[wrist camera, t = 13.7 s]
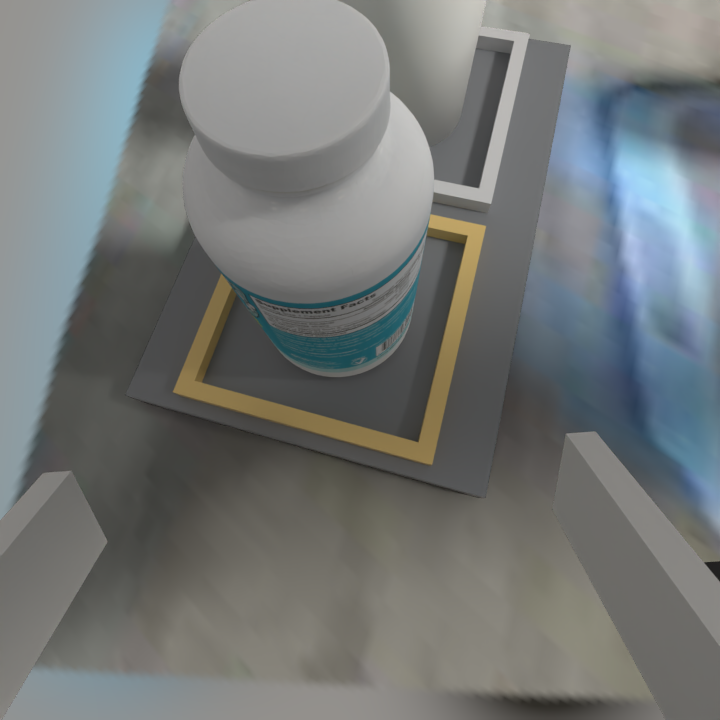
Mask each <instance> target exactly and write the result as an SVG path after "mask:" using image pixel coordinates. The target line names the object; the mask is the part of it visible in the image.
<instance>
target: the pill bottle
mask: <svg viewBox="0 0 720 720" xmlns="http://www.w3.org/2000/svg"><path fill="white" fill-rule="evenodd" d="M179 94H180V99H181V104H182V107H183V110H184V113H185V115H186V117H187V119H188V121H189V123H190V125H191V127H192V129H193V132H194V134H195V135H194V137H193V139H192V141H191V144H190V147H189V149H188V153H187V156H186V160H185V165H184V171H183V199H184V207H185V210H186V214H187V217H188V220H189V223H190V225H191V228H192V230H193V232H194V235H195V236H196V238H197V240H198V242H199V243H200V245H201V246H202V248H203V249H204V251H205V252H206V253H207V255H208V256H209V257H210V259H211V260H212V261H213V263H214V264H215V266H216V267H217V268H218V270H219V271H220V272H221V274H222V275H223V276H224V278H225V279H226V280H227V282H228V283H229V284H230V286H231V287H232V288H233V290H234V291H235V293H236V294H237V295H238V297H239V298H240V299H241V301H242V302H243V303H244V305H245V306H246V307H247V309H248V311H249V312H250V313H251V314H252V316H253V317H254V318H255V320H256V321H257V322H258V324H259V325H260V326H261V328H262V329H263V330H264V331H265V333H266V334H267V336H268V337H269V338H270V340H271V341H272V342H273V344H274V345H275V346H276V348H277V349H278V350H279V351H280V353H281V354H282V355H283V356H284V357H285V358H286V359H288V360H289V361H290V362H291V363H293V364H294V365H296V366H297V367H299V368H301V369H303V370H305V371H308V372H310V373H313V374H316V375H321V376H326V377H346V376H352V375H357V374H360V373H363V372H366V371H368V370H370V369H372V368H374V367H376V366H378V365H379V364H381V363H382V362H384V361H385V360H386V359H387V358H388V357H390V356H391V355H392V354H393V353H394V352H395V350H396V349H397V348H398V347H399V345H400V344H401V342H402V341H403V339H404V337H405V335H406V333H407V331H408V328H409V325H410V322H411V317H412V313H413V307H414V301H415V296H416V290H417V285H418V280H419V274H420V269H421V263H422V257H423V252H424V246H425V241H426V236H427V230H428V225H429V219H430V214H431V206H432V201H433V193H434V168H433V160H432V156H431V152H430V148H429V145H428V142H427V139H426V137H425V134H424V132H423V130H422V128H421V126H420V125H419V123H418V121H417V120H416V118H415V117H414V115H413V114H412V113H411V112H410V110H409V109H408V108H407V107H406V106H405V105H404V104H403V102H402V101H401V100H400V99H399V98H397V97H396V96H395V95H394V94H393V93H391V92H390V64H389V58H388V53H387V49H386V46H385V43H384V41H383V39H382V37H381V36H380V34H379V32H378V31H377V29H376V28H375V27H374V25H373V24H372V23H371V22H370V21H369V20H368V19H367V18H366V17H365V16H364V15H362V14H361V13H360V12H358V11H357V10H355V9H354V8H352V7H351V6H349V5H347V4H345V3H343V2H340V1H337V0H252V1H248V2H246V3H243V4H241V5H239V6H237V7H235V8H233V9H231V10H229V11H227V12H226V13H224V14H222V15H220V16H219V17H218V18H217V19H215V20H214V21H213V22H212V23H210V24H209V25H208V26H206V27H205V29H204V30H203V31H202V32H201V33H200V34H199V35H198V36H197V37H196V39H195V40H194V42H193V43H192V44H191V46H190V47H189V49H188V51H187V53H186V55H185V57H184V59H183V62H182V66H181V70H180V75H179Z"/></svg>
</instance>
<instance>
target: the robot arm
mask: <svg viewBox="0 0 720 720" xmlns="http://www.w3.org/2000/svg"><path fill="white" fill-rule="evenodd" d="M552 510H553V512H554V514H555V516H556V517H557V519H558V521H559V523H560V525H561V527H562V529H563V530H564V532H565V534H566V536H567V538H568V540H569V542H570V543H571V545H572V547H573V549H574V551H575V553H576V555H577V556H578V558H579V560H580V562H581V564H582V566H583V568H584V569H585V571H586V573H587V575H588V577H589V579H590V580H591V582H592V584H593V586H594V588H595V590H596V592H597V593H598V595H599V597H600V599H601V601H602V603H603V605H604V606H605V608H606V610H607V612H608V614H609V616H610V618H611V619H612V621H613V623H614V625H615V627H616V629H617V631H618V632H619V634H620V636H621V638H622V640H623V642H624V643H625V645H626V647H627V649H628V651H629V653H630V655H631V656H632V658H633V660H634V662H635V664H636V666H637V668H638V669H639V671H640V673H641V675H642V677H643V679H644V681H645V682H646V684H647V686H648V688H649V690H650V692H651V694H652V695H653V697H654V699H655V701H656V703H657V705H658V706H659V708H660V710H661V712H662V714H663V716H664V718H665V719H666V720H720V561H719V562H703V561H702V560H701V558H700V557H699V556H698V555H697V554H696V552H695V551H694V550H693V549H692V548H691V546H690V545H689V544H688V543H687V542H686V540H685V539H684V538H683V537H682V535H681V534H680V533H679V532H678V531H677V529H676V528H675V527H674V526H673V525H672V523H671V522H670V521H669V520H668V519H667V517H666V516H665V515H664V514H663V513H662V511H661V510H660V509H659V508H658V506H657V505H656V504H655V503H654V502H653V500H652V499H651V498H650V497H649V496H648V494H647V493H646V492H645V491H644V490H643V488H642V487H641V486H640V485H639V483H638V482H637V481H636V480H635V479H634V477H633V476H632V475H631V474H630V473H629V471H628V470H627V469H626V468H625V467H624V465H623V464H622V463H621V462H620V461H619V459H618V458H617V457H616V456H615V454H614V453H613V452H612V451H611V450H610V448H609V447H608V446H607V445H606V444H605V442H604V441H603V440H602V439H601V438H600V436H599V435H598V434H597V433H596V431H593V432H580V433H566V436H565V441H564V447H563V452H562V458H561V463H560V469H559V474H558V480H557V486H556V491H555V497H554V502H553V508H552ZM107 542H108V541H107V539H106V537H105V535H104V533H103V531H102V529H101V527H100V525H99V523H98V522H97V520H96V518H95V516H94V514H93V512H92V510H91V508H90V506H89V504H88V502H87V500H86V498H85V496H84V494H83V492H82V490H81V488H80V486H79V484H78V482H77V480H76V478H75V476H74V475H73V473H72V471H61V472H48V473H43V474H42V475H41V476H40V477H39V478H38V479H37V480H36V481H35V483H34V484H33V485H32V486H31V487H30V488H29V489H28V490H27V491H26V493H25V494H24V495H23V496H22V497H21V498H20V499H19V500H18V501H17V502H16V504H15V505H14V506H13V507H12V508H11V509H10V510H9V511H8V512H7V514H6V515H5V516H4V517H3V518H2V519H1V520H0V720H2V719H3V716H4V715H5V714H6V712H7V710H8V708H9V707H10V705H11V704H12V702H13V700H14V698H15V697H16V695H17V693H18V691H19V690H20V688H21V687H22V685H23V683H24V681H25V680H26V678H27V677H28V675H29V673H30V672H31V670H32V668H33V667H34V665H35V663H36V661H37V660H38V658H39V656H40V655H41V653H42V651H43V650H44V648H45V646H46V645H47V643H48V641H49V640H50V638H51V636H52V635H53V633H54V631H55V629H56V628H57V626H58V624H59V623H60V621H61V619H62V618H63V616H64V614H65V613H66V611H67V609H68V608H69V606H70V604H71V603H72V601H73V599H74V598H75V596H76V594H77V592H78V591H79V589H80V587H81V586H82V584H83V582H84V581H85V579H86V577H87V576H88V574H89V572H90V571H91V569H92V567H93V566H94V564H95V562H96V560H97V559H98V557H99V555H100V554H101V552H102V550H103V549H104V547H105V545H106V544H107Z"/></svg>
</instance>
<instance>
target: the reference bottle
mask: <svg viewBox="0 0 720 720" xmlns="http://www.w3.org/2000/svg"><path fill="white" fill-rule="evenodd" d="M337 1H340V2H343V3H345V4H347V5H349V6H351V7H352V8H354V9H355V10H357V11H358V12H360V13H361V14H362V15H364V16H365V17H366V18H367V19H368V20H369V21H370V22H371V23H372V24H373V25H374V27H375V28H376V29H377V31H378V32H379V34H380V36H381V37H382V39H383V41H384V43H385V46H386V49H387V53H388V58H389V64H390V92H391V93H393V94H394V95H395V96H396V97H397V98H399V99H400V100H401V101H402V102H403V104H404V105H405V106H406V107H407V108H408V109H409V110H410V112H411V113H412V114H413V115H414V117H415V118H416V120H417V121H418V123H419V125H420V126H421V128H422V130H423V132H424V134H425V137H426V139H427V142H428V145H429V147H431V146H433V145H436V144H437V143H439V142H441V141H442V140H443V139H445V138H446V137H447V136H448V135H449V134H450V133H451V132H452V131H453V130H454V128H455V127H456V125H457V124H458V122H459V119H460V116H461V112H462V108H463V103H464V99H465V94H466V90H467V85H468V81H469V76H470V72H471V67H472V63H473V59H474V54H475V50H476V45H477V41H478V36H479V32H480V27H481V23H482V18H483V14H484V9H485V5H486V0H337Z"/></svg>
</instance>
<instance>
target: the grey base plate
mask: <svg viewBox="0 0 720 720" xmlns="http://www.w3.org/2000/svg"><path fill="white" fill-rule="evenodd" d="M529 35H530V34H529V33H523V32H516V31H510V30H504V29H497V28H491V27H484V26H481V27H480V32H479V36H478V41H477V45H476V50H475V54H474V59H473V63H472V67H471V72H470V76H469V81H468V85H467V90H466V94H465V99H464V103H463V108H462V112H461V116H460V119H459V122H458V124H457V125H456V127H455V128H454V130H453V131H452V132H451V133H450V134H449V135H448V136H447V137H446V138H445V139H443V140H442V141H441V142H439V143H437V144H436V145H433V146H431V147H429V148H430V152H431V156H432V160H433V168H434V193H433V201H432V206H431V214H430V219H429V225H428V230H427V236H426V241H425V246H424V252H423V257H422V263H421V269H420V274H419V280H418V285H417V290H416V296H415V301H414V307H413V313H412V317H411V322H410V325H409V328H408V331H407V333H406V335H405V337H404V339H403V341H402V342H401V344H400V345H399V347H398V348H397V349H396V350H395V352H394V353H393V354H392V355H391V356H390V357H388V358H387V359H386V360H385V361H384V362H382V363H381V364H379V365H378V366H376V367H374V368H372V369H370V370H368V371H366V372H363V373H360V374H357V375H352V376H346V377H326V376H321V375H316V374H313V373H310V372H308V371H305V370H303V369H301V368H299V367H297V366H296V365H294V364H293V363H291V362H290V361H289V360H288V359H286V358H285V357H284V356H283V355H282V354H281V353H280V351H279V350H278V349H277V348H276V346H275V345H274V344H273V342H272V341H271V340H270V338H269V337H268V336H267V334H266V333H265V331H264V330H263V329H262V328H261V326H260V325H259V324H258V322H257V321H256V320H255V318H254V317H253V316H252V314H251V313H250V312H249V311H248V309H247V307H246V306H245V305H244V303H243V302H242V301H241V299H240V298H239V297H238V295H237V294H236V293H235V291H234V290H233V288H232V287H231V286H230V284H229V283H228V282H227V280H226V279H225V278H224V276H223V275H222V274H221V272H220V271H219V270H218V268H217V267H216V266H215V264H214V263H213V261H212V260H211V259H210V257H209V256H208V255H207V253H206V252H205V251H204V249H203V248H202V246H201V245H200V243H199V242H198V240H197V238H196V236H195V238H194V240H193V243H192V245H191V247H190V249H189V252H188V254H187V256H186V259H185V261H184V263H183V265H182V268H181V270H180V272H179V274H178V277H177V279H176V281H175V283H174V286H173V288H172V290H171V292H170V295H169V297H168V299H167V302H166V304H165V306H164V308H163V311H162V313H161V315H160V317H159V320H158V322H157V324H156V326H155V329H154V331H153V333H152V335H151V338H150V340H149V342H148V345H147V347H146V349H145V351H144V354H143V356H142V358H141V360H140V363H139V365H138V367H137V369H136V372H135V374H134V376H133V378H132V381H131V383H130V385H129V388H128V390H127V392H126V394H125V395H126V396H128V397H131V398H134V399H136V400H139V401H142V402H145V403H149V404H152V405H156V406H159V407H163V408H166V409H170V410H173V411H177V412H180V413H184V414H187V415H191V416H194V417H198V418H201V419H205V420H208V421H212V422H215V423H219V424H222V425H226V426H229V427H233V428H236V429H240V430H243V431H247V432H250V433H254V434H257V435H261V436H264V437H268V438H271V439H275V440H278V441H282V442H285V443H289V444H292V445H296V446H299V447H303V448H306V449H310V450H313V451H317V452H320V453H324V454H327V455H331V456H334V457H338V458H341V459H345V460H348V461H352V462H355V463H359V464H362V465H366V466H369V467H373V468H376V469H380V470H383V471H387V472H390V473H394V474H397V475H401V476H405V477H408V478H412V479H415V480H419V481H422V482H426V483H429V484H433V485H436V486H440V487H443V488H447V489H450V490H454V491H457V492H461V493H464V494H468V495H471V496H475V497H478V498H486V493H487V488H488V482H489V477H490V472H491V467H492V461H493V456H494V451H495V445H496V440H497V435H498V429H499V424H500V419H501V413H502V408H503V403H504V397H505V392H506V387H507V381H508V376H509V371H510V366H511V360H512V355H513V350H514V344H515V339H516V334H517V328H518V323H519V318H520V312H521V307H522V302H523V296H524V291H525V286H526V281H527V275H528V270H529V265H530V259H531V254H532V249H533V243H534V238H535V233H536V227H537V222H538V217H539V211H540V206H541V201H542V195H543V190H544V185H545V180H546V174H547V169H548V164H549V158H550V153H551V148H552V142H553V137H554V132H555V126H556V121H557V116H558V110H559V105H560V100H561V95H562V89H563V84H564V79H565V73H566V68H567V63H568V57H569V52H570V47H571V45H565V44H559V43H552V42H546V41H540V40H533V39H529Z"/></svg>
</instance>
